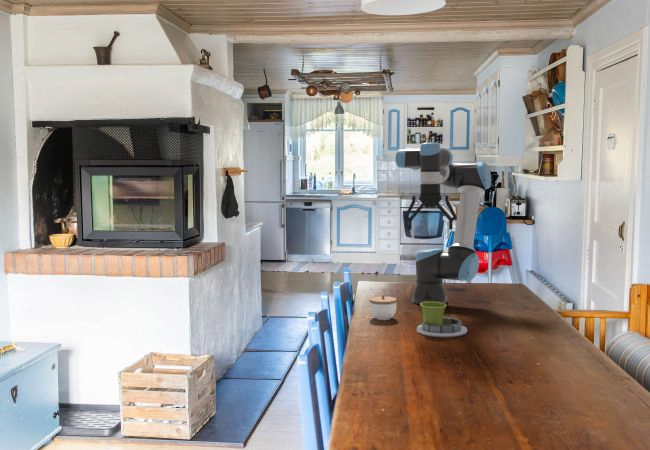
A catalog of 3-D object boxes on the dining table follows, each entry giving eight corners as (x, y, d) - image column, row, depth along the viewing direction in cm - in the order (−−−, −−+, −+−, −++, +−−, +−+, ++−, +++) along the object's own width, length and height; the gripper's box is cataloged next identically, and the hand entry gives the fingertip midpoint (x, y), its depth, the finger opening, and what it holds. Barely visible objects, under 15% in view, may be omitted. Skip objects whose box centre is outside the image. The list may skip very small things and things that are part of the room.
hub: (442, 323, 256) (442, 313, 255) (477, 332, 241) (477, 322, 240) (406, 329, 246) (406, 320, 246) (440, 340, 231) (440, 330, 231)
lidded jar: (387, 322, 258) (387, 298, 257) (364, 319, 264) (364, 295, 263) (402, 317, 266) (401, 294, 265) (379, 314, 273) (378, 291, 272)
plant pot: (446, 325, 248) (446, 302, 247) (445, 331, 238) (446, 307, 237) (420, 324, 249) (420, 301, 249) (419, 330, 240) (419, 306, 239)
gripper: (396, 183, 257) (397, 239, 259) (463, 183, 252) (463, 239, 254) (398, 183, 264) (399, 237, 266) (463, 182, 259) (463, 237, 261)
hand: (430, 238), depth 260 cm, fingers open, 13 cm apart
